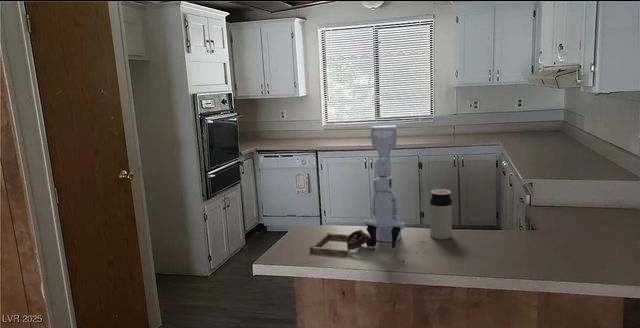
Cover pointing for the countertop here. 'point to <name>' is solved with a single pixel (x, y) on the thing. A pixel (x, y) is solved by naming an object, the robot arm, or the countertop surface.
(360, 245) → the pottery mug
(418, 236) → the countertop surface
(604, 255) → the countertop surface
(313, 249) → the bar
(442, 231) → the travel mug
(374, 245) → the robot arm
